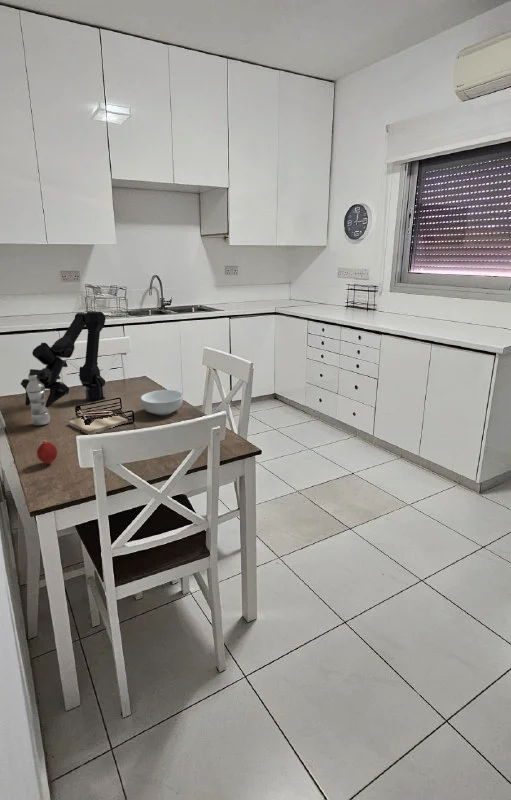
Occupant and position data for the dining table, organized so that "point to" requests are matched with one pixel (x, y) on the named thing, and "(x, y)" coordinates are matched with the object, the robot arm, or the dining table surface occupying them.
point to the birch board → (98, 424)
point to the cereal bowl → (162, 401)
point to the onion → (47, 452)
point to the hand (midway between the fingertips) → (36, 406)
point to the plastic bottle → (37, 401)
